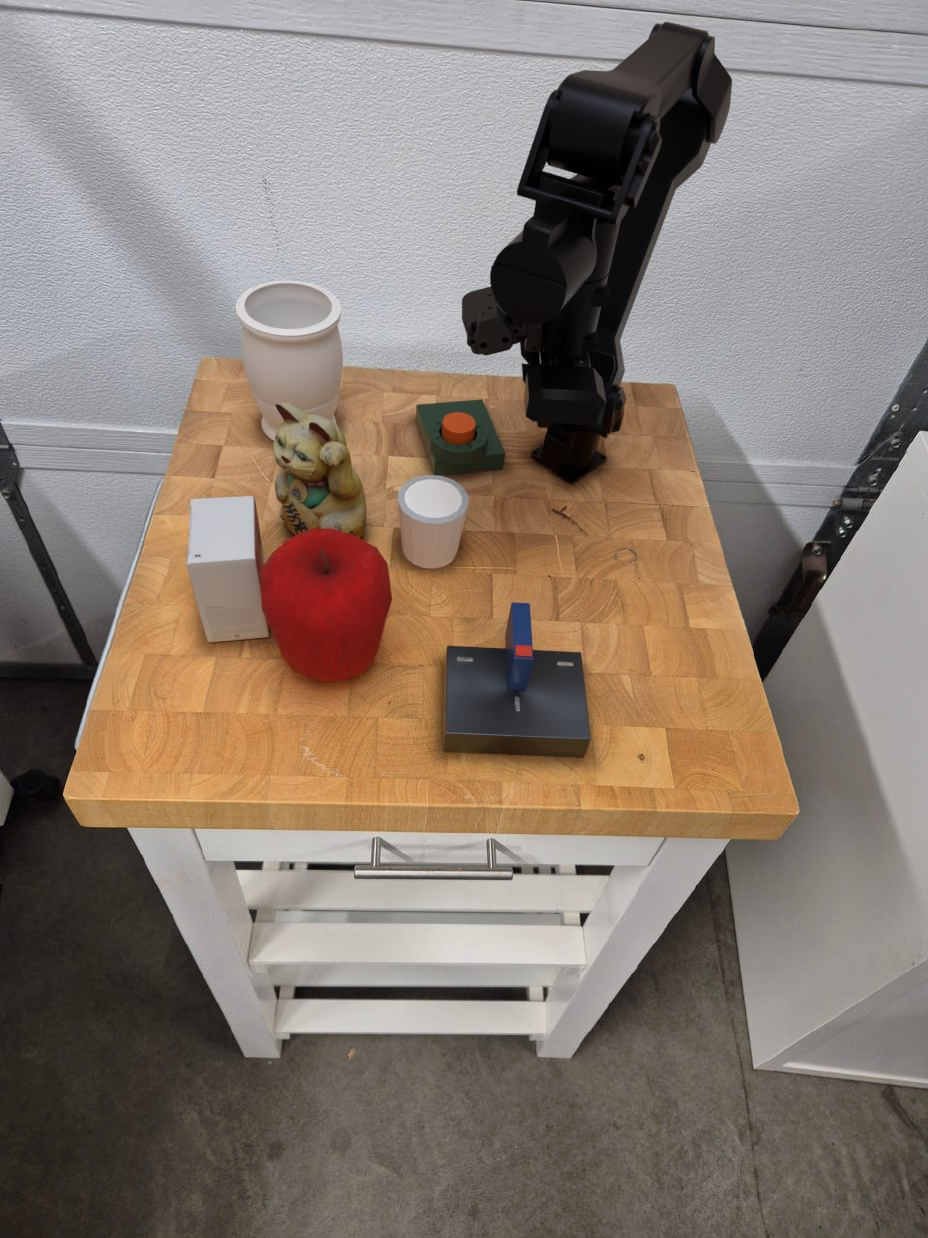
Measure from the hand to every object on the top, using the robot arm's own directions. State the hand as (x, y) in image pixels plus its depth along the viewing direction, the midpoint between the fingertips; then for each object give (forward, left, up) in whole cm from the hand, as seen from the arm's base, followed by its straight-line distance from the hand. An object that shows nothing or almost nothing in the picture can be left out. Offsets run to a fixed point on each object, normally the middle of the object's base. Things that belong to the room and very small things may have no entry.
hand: (542, 425), depth 76 cm
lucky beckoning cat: (+16, -13, -13) cm, 24 cm away
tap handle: (+16, +13, -10) cm, 23 cm away
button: (-2, -12, -9) cm, 15 cm away
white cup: (+10, -4, -13) cm, 17 cm away
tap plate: (+17, +14, -13) cm, 25 cm away
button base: (-4, -14, -13) cm, 20 cm away
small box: (+29, -10, -13) cm, 33 cm away
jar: (+8, -28, -13) cm, 32 cm away
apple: (+26, 0, -13) cm, 29 cm away
